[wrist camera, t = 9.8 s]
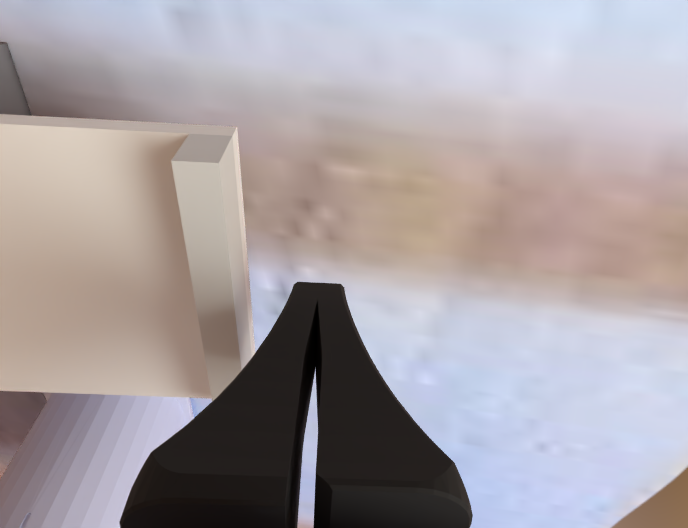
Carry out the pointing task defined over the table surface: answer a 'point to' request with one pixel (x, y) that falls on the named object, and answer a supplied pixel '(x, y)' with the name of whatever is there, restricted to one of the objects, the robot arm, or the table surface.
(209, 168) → the lid
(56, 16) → the table surface
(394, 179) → the table surface
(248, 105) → the table surface
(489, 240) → the table surface
